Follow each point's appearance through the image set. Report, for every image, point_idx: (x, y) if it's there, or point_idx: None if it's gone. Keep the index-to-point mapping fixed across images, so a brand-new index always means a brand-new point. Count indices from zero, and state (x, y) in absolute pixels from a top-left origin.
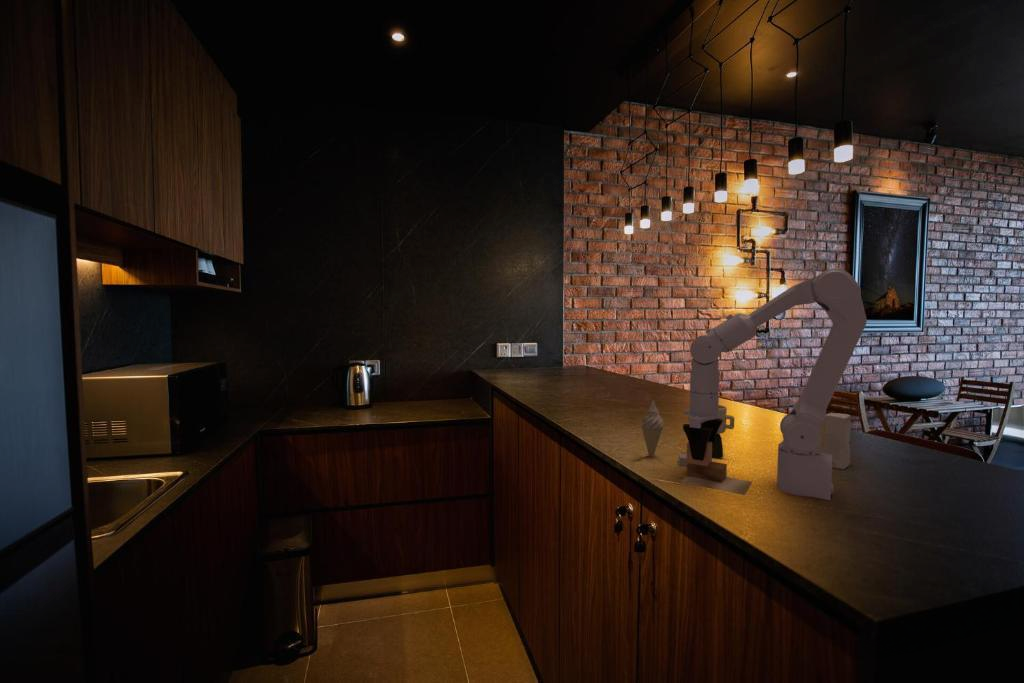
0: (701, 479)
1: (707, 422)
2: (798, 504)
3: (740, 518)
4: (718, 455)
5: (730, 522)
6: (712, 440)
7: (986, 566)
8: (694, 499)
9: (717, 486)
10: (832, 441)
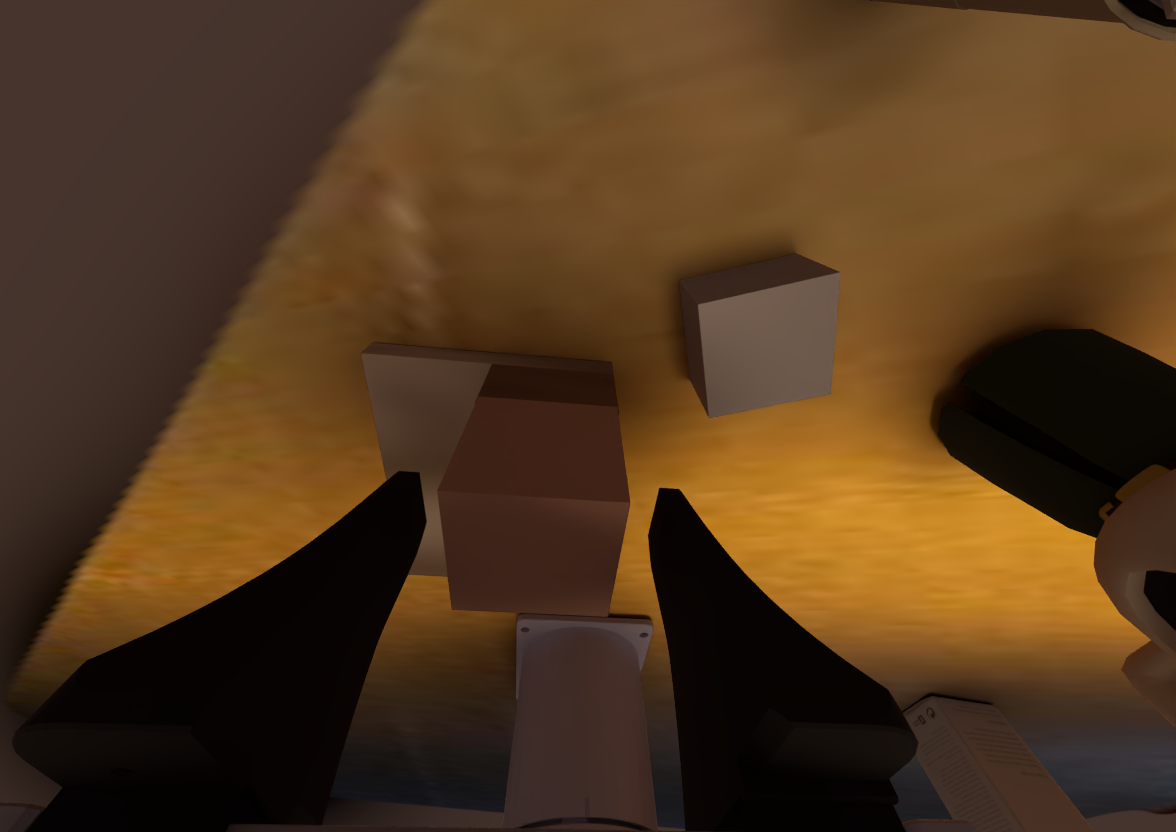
0: None
1: (716, 771)
2: (488, 651)
3: (224, 558)
4: (961, 460)
5: (157, 541)
6: (665, 614)
7: (379, 790)
8: (257, 423)
9: (428, 498)
10: (984, 814)
